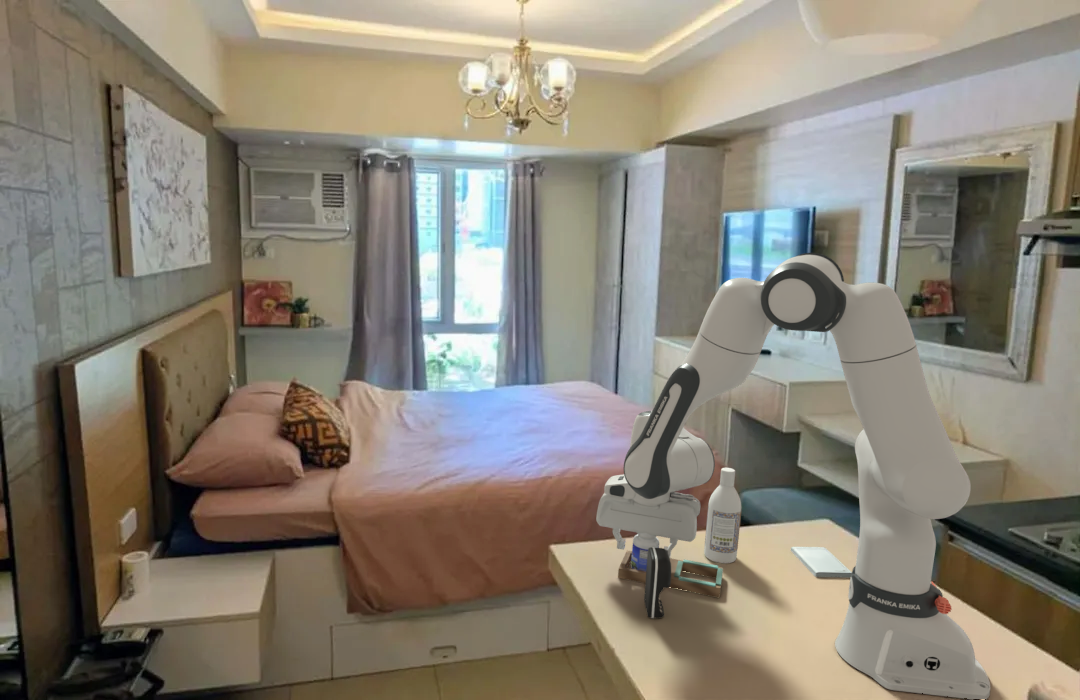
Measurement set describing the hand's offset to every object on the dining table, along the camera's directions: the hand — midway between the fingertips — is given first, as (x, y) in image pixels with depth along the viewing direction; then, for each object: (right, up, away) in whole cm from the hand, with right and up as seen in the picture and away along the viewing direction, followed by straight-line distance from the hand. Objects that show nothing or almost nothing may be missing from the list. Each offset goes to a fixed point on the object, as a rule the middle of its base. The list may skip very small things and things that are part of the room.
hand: (643, 552), depth 140 cm
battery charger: (0, -7, -14) cm, 15 cm away
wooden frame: (+5, -5, -1) cm, 7 cm away
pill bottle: (0, -5, +1) cm, 5 cm away
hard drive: (+40, -6, +9) cm, 41 cm away
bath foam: (+18, -4, +10) cm, 21 cm away
